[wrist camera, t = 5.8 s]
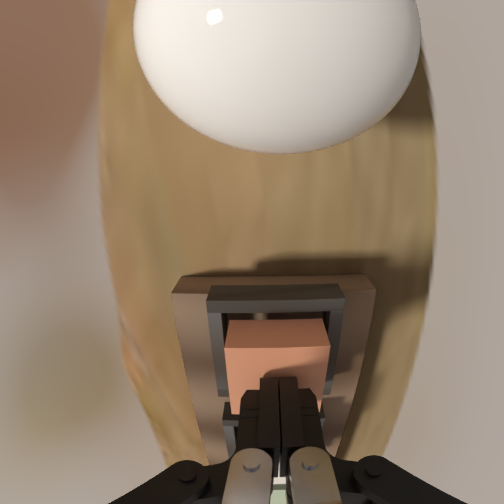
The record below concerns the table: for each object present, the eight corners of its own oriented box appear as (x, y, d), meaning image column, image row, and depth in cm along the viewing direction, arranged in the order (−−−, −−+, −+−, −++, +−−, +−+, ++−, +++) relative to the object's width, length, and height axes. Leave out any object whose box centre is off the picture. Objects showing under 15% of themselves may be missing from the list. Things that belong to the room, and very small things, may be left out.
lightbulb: (348, 140, 13) (521, 139, 3) (220, 166, 14) (106, 214, 4) (317, 25, 11) (391, -126, 1) (192, 49, 12) (76, -82, 2)
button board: (180, 269, 16) (160, 299, 13) (365, 266, 15) (388, 295, 12) (219, 472, 23) (215, 501, 20) (321, 471, 23) (324, 499, 19)
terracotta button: (229, 319, 13) (224, 347, 11) (322, 318, 13) (330, 345, 11) (235, 385, 14) (231, 414, 12) (314, 383, 14) (319, 412, 12)
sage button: (246, 470, 19) (245, 490, 17) (296, 469, 19) (297, 489, 17) (248, 488, 21) (247, 505, 19) (292, 487, 20) (293, 504, 18)
